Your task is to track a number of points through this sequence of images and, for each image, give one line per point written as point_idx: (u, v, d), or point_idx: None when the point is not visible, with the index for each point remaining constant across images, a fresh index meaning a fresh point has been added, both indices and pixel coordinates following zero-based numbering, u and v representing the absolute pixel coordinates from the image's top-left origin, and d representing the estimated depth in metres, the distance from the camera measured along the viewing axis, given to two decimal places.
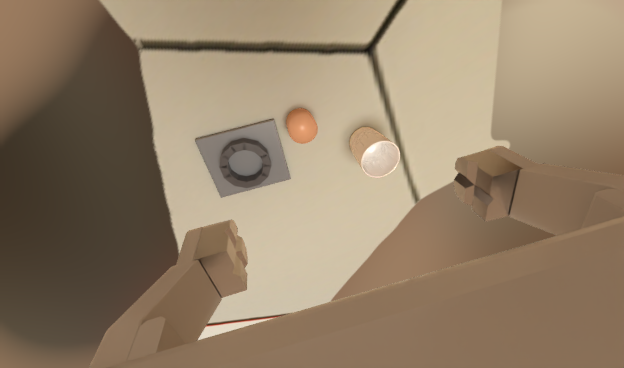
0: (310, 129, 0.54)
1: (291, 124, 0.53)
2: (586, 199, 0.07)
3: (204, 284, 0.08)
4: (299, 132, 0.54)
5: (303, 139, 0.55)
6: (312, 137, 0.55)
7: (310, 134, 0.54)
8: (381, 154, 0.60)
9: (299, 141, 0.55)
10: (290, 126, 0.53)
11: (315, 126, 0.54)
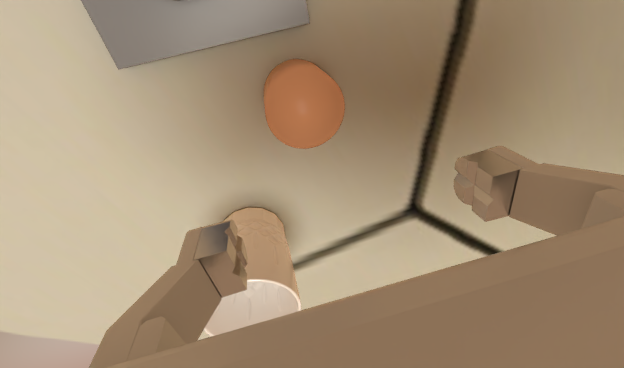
0: (304, 130, 0.20)
1: (323, 77, 0.19)
2: (585, 198, 0.07)
3: (204, 284, 0.08)
4: (297, 100, 0.19)
5: (277, 113, 0.19)
6: (283, 137, 0.20)
7: (292, 131, 0.20)
8: None
9: (271, 101, 0.19)
10: (317, 74, 0.18)
11: (313, 142, 0.21)
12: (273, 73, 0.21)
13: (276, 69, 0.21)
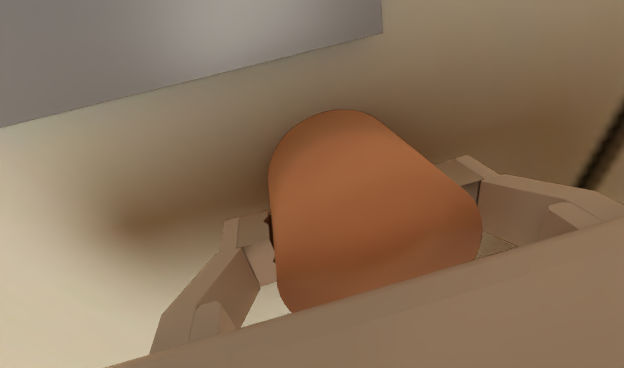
0: None
1: (443, 191, 0.06)
2: (542, 211, 0.07)
3: (246, 272, 0.08)
4: (366, 246, 0.07)
5: (309, 277, 0.07)
6: None
7: None
8: None
9: (294, 256, 0.07)
10: (430, 185, 0.06)
11: None
12: (292, 150, 0.09)
13: (299, 139, 0.09)
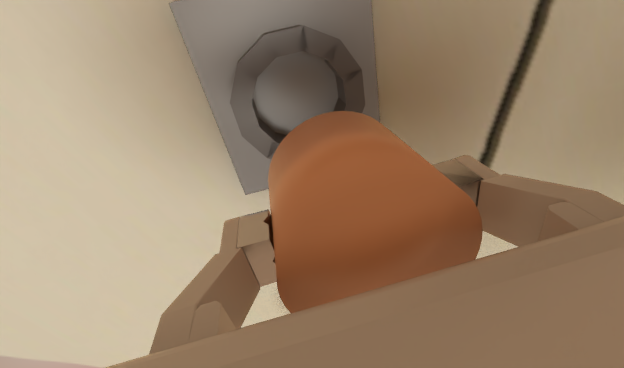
0: None
1: (443, 193, 0.06)
2: (542, 211, 0.07)
3: (246, 272, 0.08)
4: (366, 248, 0.07)
5: (309, 279, 0.07)
6: None
7: None
8: None
9: (294, 258, 0.07)
10: (430, 187, 0.06)
11: None
12: (292, 152, 0.09)
13: (299, 141, 0.09)
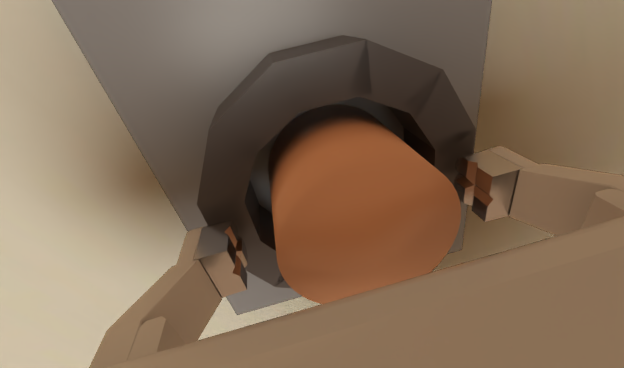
0: (363, 276, 0.09)
1: (424, 175, 0.07)
2: (585, 199, 0.07)
3: (204, 284, 0.08)
4: (355, 225, 0.08)
5: (305, 253, 0.08)
6: (315, 293, 0.09)
7: (336, 282, 0.09)
8: None
9: (292, 233, 0.07)
10: (412, 169, 0.07)
11: None
12: (290, 141, 0.10)
13: (296, 132, 0.10)
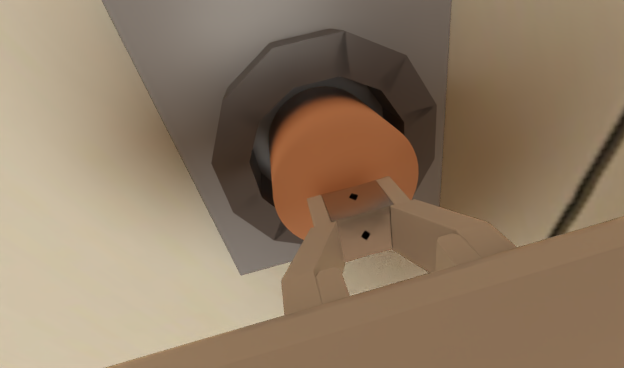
0: None
1: (387, 133, 0.10)
2: None
3: (338, 246, 0.08)
4: (335, 172, 0.10)
5: (295, 194, 0.10)
6: (303, 231, 0.11)
7: None
8: None
9: (285, 175, 0.10)
10: (377, 127, 0.09)
11: None
12: (287, 113, 0.12)
13: (292, 105, 0.12)
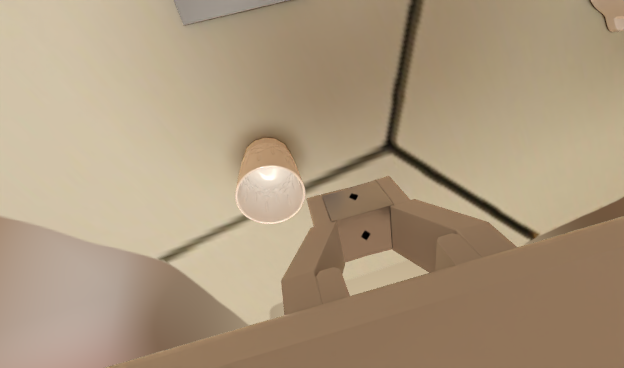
0: None
1: None
2: None
3: (338, 246, 0.08)
4: None
5: None
6: None
7: None
8: (258, 191, 0.38)
9: None
10: None
11: None
12: None
13: None
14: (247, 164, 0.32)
